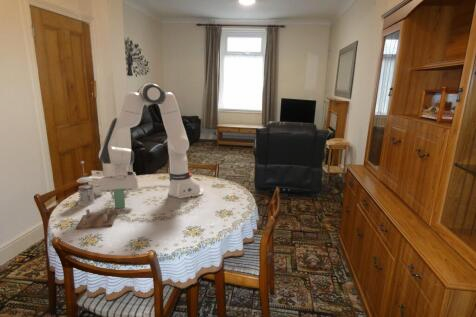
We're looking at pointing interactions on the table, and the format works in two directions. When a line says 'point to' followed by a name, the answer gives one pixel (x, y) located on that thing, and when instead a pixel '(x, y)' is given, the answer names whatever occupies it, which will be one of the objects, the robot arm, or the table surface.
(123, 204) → the green rectangular block
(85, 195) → the french press
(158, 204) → the table surface
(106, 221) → the standoff cradle
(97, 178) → the ink cartridge box
